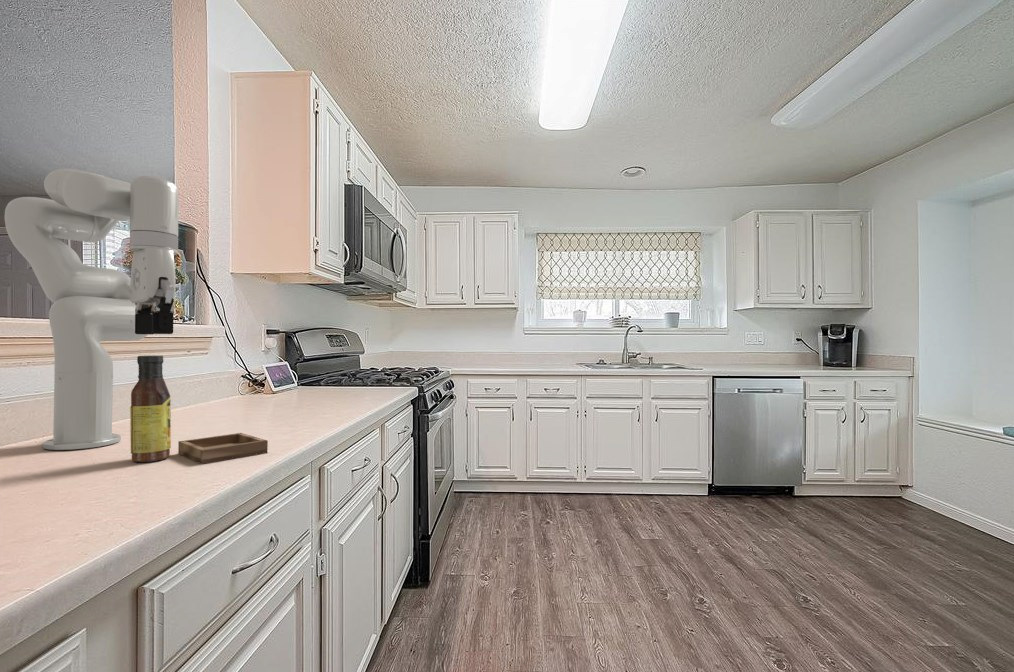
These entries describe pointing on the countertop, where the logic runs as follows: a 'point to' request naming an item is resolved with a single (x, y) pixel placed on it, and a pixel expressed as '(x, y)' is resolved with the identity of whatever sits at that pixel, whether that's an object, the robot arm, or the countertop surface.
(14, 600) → the countertop surface
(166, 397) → the sauce bottle
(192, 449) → the tray
